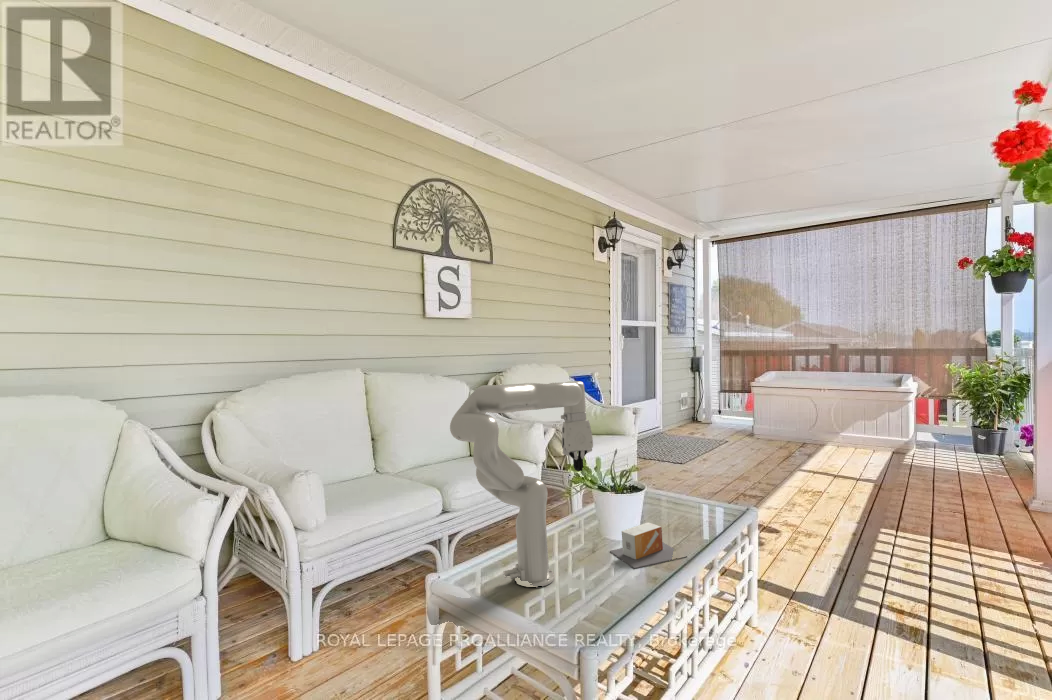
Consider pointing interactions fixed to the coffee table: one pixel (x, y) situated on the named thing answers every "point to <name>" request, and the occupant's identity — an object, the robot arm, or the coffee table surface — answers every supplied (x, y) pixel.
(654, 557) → the mat
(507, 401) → the robot arm
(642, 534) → the small box
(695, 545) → the coffee table surface
